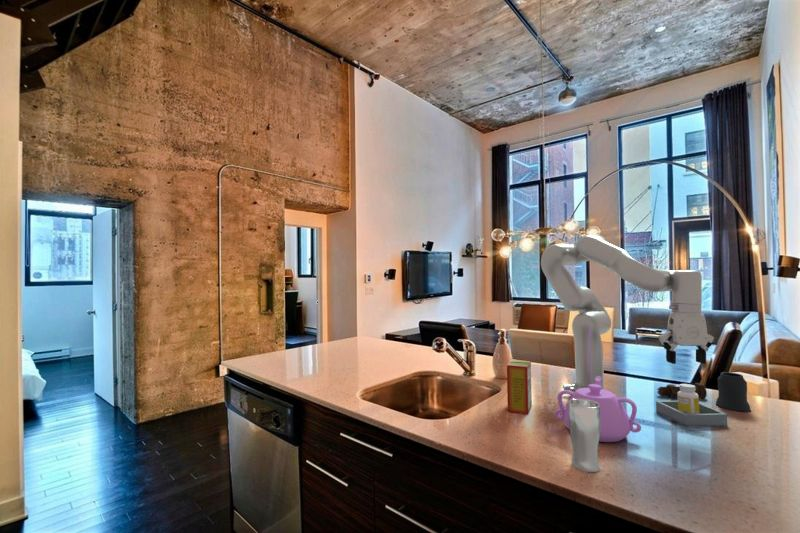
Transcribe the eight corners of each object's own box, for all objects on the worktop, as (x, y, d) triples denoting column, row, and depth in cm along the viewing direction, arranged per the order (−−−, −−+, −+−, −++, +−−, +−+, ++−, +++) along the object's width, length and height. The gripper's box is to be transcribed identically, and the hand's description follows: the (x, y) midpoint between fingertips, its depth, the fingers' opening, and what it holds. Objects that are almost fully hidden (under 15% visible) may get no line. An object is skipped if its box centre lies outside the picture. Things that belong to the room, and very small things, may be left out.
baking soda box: (528, 415, 123) (527, 365, 124) (507, 412, 126) (506, 364, 127) (531, 406, 132) (530, 360, 132) (512, 403, 135) (511, 358, 135)
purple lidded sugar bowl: (639, 425, 114) (638, 379, 115) (642, 454, 96) (641, 399, 96) (561, 412, 125) (560, 370, 126) (550, 436, 107) (549, 387, 107)
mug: (755, 414, 122) (753, 379, 122) (718, 409, 126) (717, 375, 127) (744, 403, 132) (743, 370, 133) (710, 399, 137) (710, 368, 137)
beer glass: (564, 459, 93) (562, 398, 94) (590, 458, 94) (589, 397, 94) (579, 474, 86) (578, 408, 87) (608, 472, 87) (607, 407, 87)
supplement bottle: (695, 414, 121) (693, 383, 121) (703, 420, 115) (701, 388, 116) (675, 413, 122) (674, 382, 123) (682, 418, 117) (680, 387, 117)
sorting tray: (686, 427, 112) (686, 415, 112) (656, 411, 125) (655, 401, 125) (727, 426, 113) (727, 414, 113) (693, 411, 125) (692, 400, 125)
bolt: (658, 400, 141) (701, 400, 140) (664, 397, 137) (709, 397, 135) (653, 385, 144) (695, 384, 143) (659, 381, 140) (702, 381, 139)
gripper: (668, 310, 116) (668, 365, 116) (723, 310, 116) (722, 365, 116) (651, 307, 123) (651, 359, 123) (702, 307, 124) (702, 359, 124)
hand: (685, 362), depth 120 cm, fingers open, 9 cm apart
